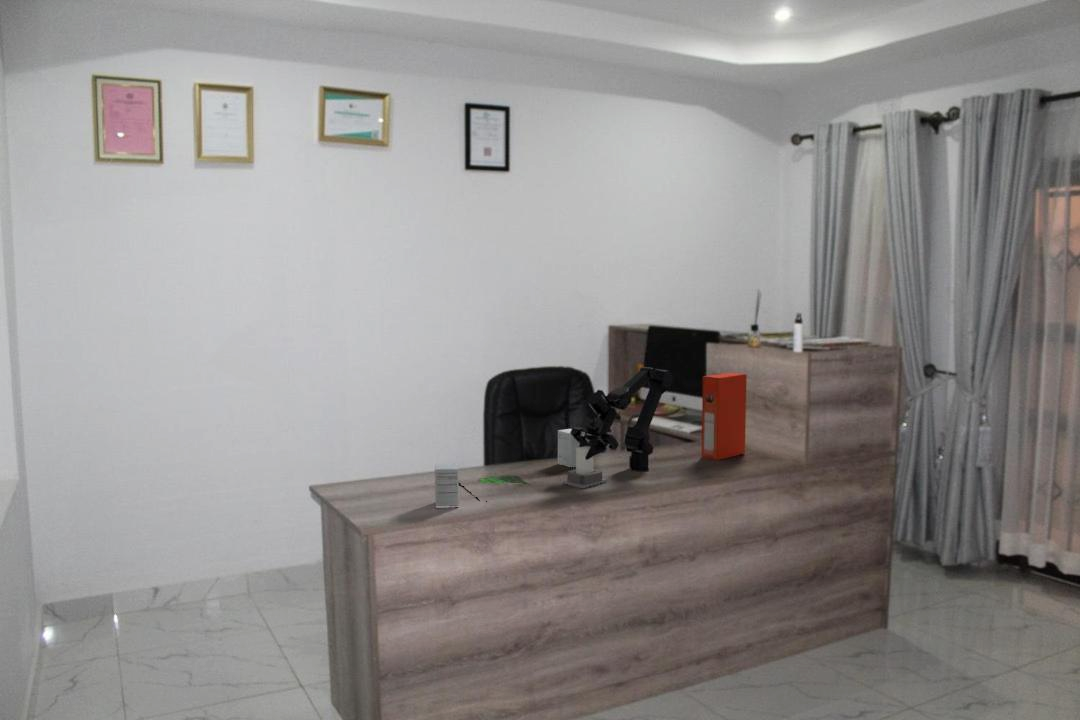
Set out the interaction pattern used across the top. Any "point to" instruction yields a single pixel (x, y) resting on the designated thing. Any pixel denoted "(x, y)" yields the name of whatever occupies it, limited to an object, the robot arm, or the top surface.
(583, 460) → the plain light grey box
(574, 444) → the small box
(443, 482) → the grey drawer cabinet
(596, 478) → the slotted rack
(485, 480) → the mouse mat
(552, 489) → the top surface
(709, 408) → the file binder
